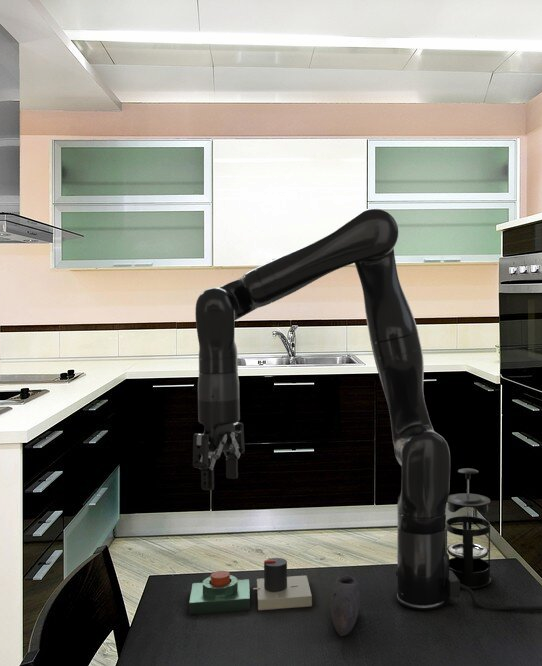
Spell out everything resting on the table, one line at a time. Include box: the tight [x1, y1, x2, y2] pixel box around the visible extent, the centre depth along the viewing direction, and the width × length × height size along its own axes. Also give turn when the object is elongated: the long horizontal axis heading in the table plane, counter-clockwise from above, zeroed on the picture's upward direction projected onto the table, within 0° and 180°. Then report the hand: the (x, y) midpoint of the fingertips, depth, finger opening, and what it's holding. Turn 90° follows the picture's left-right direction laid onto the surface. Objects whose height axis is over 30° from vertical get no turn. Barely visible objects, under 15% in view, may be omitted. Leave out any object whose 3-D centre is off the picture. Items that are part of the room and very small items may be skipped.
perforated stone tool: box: [330, 570, 361, 637], centre depth 120 cm, size 15×5×7 cm, turn 175°
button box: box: [188, 574, 251, 615], centre depth 129 cm, size 11×9×4 cm
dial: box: [263, 557, 288, 592], centre depth 131 cm, size 4×4×5 cm
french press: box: [446, 467, 492, 591], centre depth 139 cm, size 12×9×23 cm
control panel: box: [252, 574, 313, 611], centre depth 131 cm, size 11×10×2 cm
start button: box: [210, 570, 231, 586], centre depth 129 cm, size 4×4×2 cm
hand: (220, 484), depth 125 cm, fingers open, 8 cm apart
